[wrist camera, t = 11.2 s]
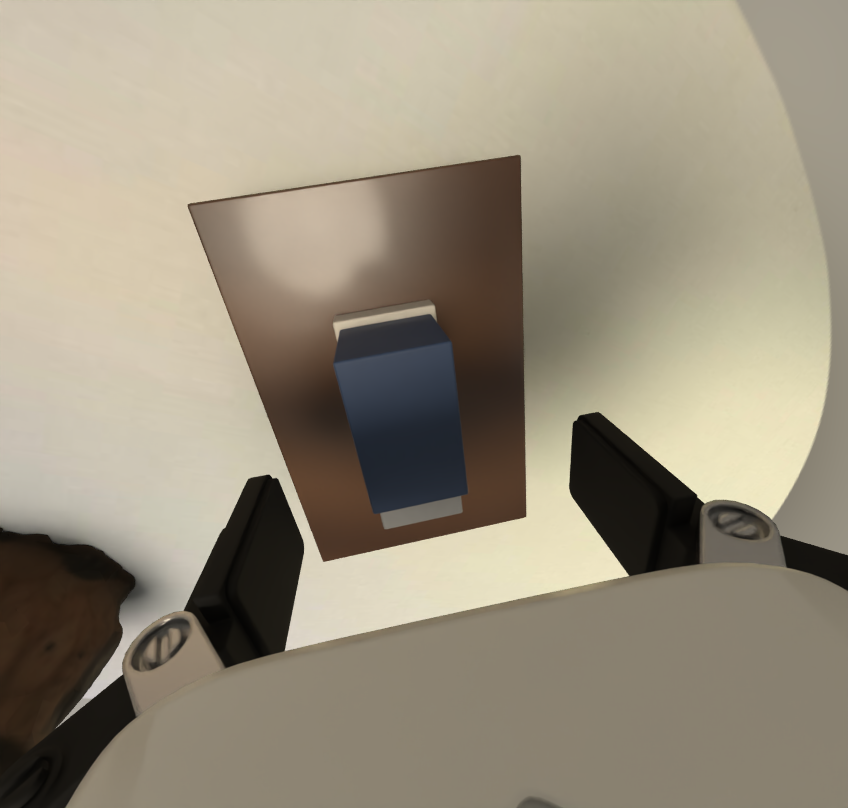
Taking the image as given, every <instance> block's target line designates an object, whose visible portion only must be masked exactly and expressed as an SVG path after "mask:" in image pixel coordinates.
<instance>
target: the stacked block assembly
mask: <svg viewBox="0 0 848 808" xmlns="http://www.w3.org/2000/svg"><path fill="white" fill-rule="evenodd" d="M333 327H334V331H335V335H336V339H337V347H336V352H335V357H334V362H333V366H334V370H335V374H336V378H337V381H338V385H339V389H340V392H341V396H342V400H343V404H344V407H345V411H346V415H347V418H348V422H349V426H350V429H351V433H352V437H353V441H354V444H355V448H356V452H357V455H358V459H359V463H360V467H361V470H362V474H363V478H364V481H365V485H366V489H367V493H368V496H369V500H370V504H371V507H372V511H373V513H374V514H379V513H380V516H381V520H382V523H383V527H384V529H390V528H395V527H399V526H404V525H408V524H413V523H417V522H422V521H427V520H431V519H436V518H440V517H445V516H450V515H454V514H459V513H462V511H463V508H462V500H461V496H463V495H467V494H468V485H467V476H466V467H465V457H464V448H463V439H462V430H461V421H460V411H459V402H458V393H457V384H456V375H455V365H454V356H453V347H452V342H451V340H450V339H449V338H448V336H447V335H446V334H445V332H444V331H443V330H442V328H441V327H440V326H439V324H438V323H437V318H436V310H435V305H434V304H433V303H432V302H431V301H430V300H423V301H417V302H412V303H406V304H400V305H394V306H389V307H383V308H377V309H372V310H366V311H360V312H354V313H349V314H343V315H337V316H335V317H334V321H333Z"/></svg>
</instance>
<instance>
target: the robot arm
mask: <svg viewBox="0 0 848 808" xmlns="http://www.w3.org/2000/svg"><path fill="white" fill-rule="evenodd" d="M569 489H570V493H571V495H572V497H573V499H574V500H575V502H576V503H577V504H578V506H579V507H580V509H581V510H582V511H583V513H584V514H585V515H586V517H587V518H588V520H589V521H590V522H591V524H592V525H593V526H594V528H595V529H596V531H597V532H598V533H599V535H600V536H601V537H602V539H603V540H604V542H605V543H606V544H607V546H608V547H609V548H610V550H611V551H612V553H613V554H614V555H615V557H616V558H617V559H618V561H619V562H620V564H621V565H622V566H623V568H624V569H625V570H626V572H627V573H628V575H629V576H628V577H623V578H618V579H613V580H608V581H603V582H598V583H594V584H589V585H584V586H579V587H575V588H570V589H565V590H560V591H556V592H551V593H546V594H541V595H536V596H532V597H527V598H522V599H518V600H513V601H508V602H504V603H499V604H494V605H490V606H485V607H480V608H476V609H471V610H467V611H462V612H457V613H453V614H448V615H443V616H439V617H434V618H430V619H425V620H420V621H416V622H411V623H407V624H402V625H398V626H393V627H389V628H384V629H380V630H375V631H371V632H366V633H362V634H357V635H353V636H348V637H344V638H339V639H335V640H330V641H326V642H322V643H318V644H314V645H309V646H305V647H301V648H297V649H293V650H288V651H285V646H286V641H287V636H288V631H289V626H290V621H291V615H292V610H293V605H294V600H295V595H296V590H297V585H298V580H299V575H300V570H301V565H302V560H303V555H304V542H303V539H302V537H301V534H300V532H299V529H298V527H297V524H296V522H295V519H294V517H293V514H292V512H291V509H290V507H289V505H288V502H287V500H286V497H285V495H284V492H283V490H282V487H281V485H280V482H279V480H278V479H277V478H273V479H272V477H271V476H270V475H264V476H259V477H253V478H250V479H248V481H247V483H246V485H245V487H244V489H243V491H242V493H241V495H240V498H239V500H238V502H237V504H236V506H235V508H234V510H233V513H232V515H231V517H230V519H229V521H228V523H227V525H226V528H224V529H223V530H222V532H221V533H220V535H219V537H218V539H217V541H216V543H215V546H214V548H213V550H212V552H211V554H210V556H209V558H208V560H207V562H206V565H205V567H204V569H203V571H202V573H201V575H200V577H199V579H198V581H197V584H196V586H195V588H194V590H193V592H192V594H191V596H190V598H189V600H188V603H187V605H186V607H185V609H184V611H179V612H173V613H171V614H168V615H165V616H163V617H161V618H160V619H158V620H156V621H155V622H153V623H152V624H151V625H149V626H148V627H147V628H146V629H144V630H143V631H142V632H141V633H140V634H139V635H138V637H137V638H136V639H135V640H134V641H133V642H132V644H131V645H130V647H129V648H128V650H127V652H126V654H125V657H124V659H123V662H122V671H123V675H122V676H120V677H119V678H118V679H117V680H115V681H114V682H113V683H112V684H110V685H109V686H108V687H107V688H106V689H104V690H103V691H102V692H101V693H99V694H98V695H97V696H96V697H94V698H93V699H92V700H91V701H90V702H88V703H87V704H86V705H85V706H83V707H82V708H81V709H80V710H78V711H77V712H76V713H75V714H74V715H72V716H71V717H70V718H69V719H67V720H66V721H65V722H64V723H62V724H61V725H60V726H59V727H57V728H56V729H55V730H54V731H53V732H51V733H50V734H49V735H48V736H46V737H45V738H44V739H43V740H41V741H40V742H39V743H38V744H37V745H35V746H34V747H33V748H32V749H30V750H29V751H28V752H27V753H25V754H24V755H23V756H22V757H21V758H19V759H18V760H17V761H16V762H15V763H14V764H13V765H12V766H11V767H10V768H8V769H7V770H6V771H5V772H4V773H3V774H2V776H1V777H0V808H848V555H845V554H841V553H838V552H834V551H831V550H827V549H824V548H820V547H818V546H814V545H811V544H807V543H804V542H800V541H797V540H793V539H790V538H787V537H783V536H780V534H779V530H778V528H777V526H776V524H775V523H774V522H773V521H772V520H771V519H770V518H769V517H768V516H767V515H765V514H764V513H762V512H761V511H759V510H757V509H755V508H753V507H751V506H749V505H746V504H743V503H739V502H736V501H730V500H713V501H710V502H707V503H706V504H704V503H703V502H702V501H701V500H700V499H699V498H697V494H695V493H694V492H693V491H692V490H691V489H689V488H688V487H687V486H686V485H685V484H684V483H682V482H681V481H680V480H679V479H678V478H676V477H675V476H674V475H673V474H672V473H671V472H669V471H668V470H667V469H666V468H665V467H663V466H662V465H661V464H660V463H659V462H658V461H656V460H655V459H654V458H653V457H652V456H650V455H649V454H648V453H647V452H646V451H645V450H643V449H642V448H641V447H640V446H639V445H637V444H636V443H635V442H634V441H633V440H632V439H630V438H629V437H628V436H627V435H626V434H624V433H623V432H622V431H621V430H620V429H618V428H617V427H616V426H615V425H614V424H613V423H611V422H610V421H609V420H608V419H607V418H605V417H604V416H603V415H602V414H601V413H599V412H595V413H590V414H584V415H580V416H579V417H578V419H577V421H574V423H573V430H572V448H571V465H570V483H569Z"/></svg>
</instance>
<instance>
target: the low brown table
mask: <svg viewBox="0 0 848 808" xmlns="http://www.w3.org/2000/svg"><path fill="white" fill-rule="evenodd" d="M188 209H189V211H190V214H191V216H192V219H193V222H194V224H195V227H196V229H197V232H198V235H199V237H200V240H201V243H202V245H203V248H204V250H205V253H206V256H207V258H208V261H209V264H210V266H211V269H212V271H213V274H214V277H215V279H216V282H217V285H218V287H219V290H220V292H221V295H222V298H223V300H224V303H225V305H226V308H227V311H228V313H229V316H230V319H231V321H232V324H233V326H234V329H235V332H236V334H237V337H238V340H239V342H240V345H241V347H242V350H243V353H244V355H245V358H246V361H247V363H248V366H249V368H250V371H251V374H252V376H253V379H254V381H255V384H256V387H257V389H258V392H259V395H260V397H261V400H262V402H263V405H264V408H265V410H266V413H267V416H268V418H269V421H270V423H271V426H272V429H273V431H274V434H275V437H276V439H277V442H278V444H279V447H280V450H281V452H282V455H283V457H284V460H285V463H286V465H287V468H288V471H289V473H290V476H291V478H292V481H293V484H294V486H295V489H296V492H297V494H298V497H299V499H300V502H301V505H302V507H303V510H304V513H305V515H306V518H307V520H308V523H309V526H310V528H311V531H312V533H313V536H314V539H315V541H316V544H317V547H318V549H319V552H320V554H321V557H322V560H323V562H325V561H330V560H334V559H339V558H344V557H348V556H353V555H357V554H362V553H366V552H371V551H375V550H380V549H384V548H389V547H393V546H398V545H402V544H407V543H411V542H416V541H420V540H425V539H429V538H434V537H439V536H443V535H448V534H452V533H457V532H461V531H466V530H470V529H475V528H479V527H484V526H488V525H493V524H497V523H502V522H506V521H511V520H515V519H520V518H524V517H526V467H525V404H524V341H523V278H522V215H521V157H520V155H515V156H508V157H501V158H494V159H488V160H481V161H474V162H467V163H461V164H454V165H447V166H440V167H434V168H427V169H420V170H413V171H407V172H400V173H393V174H386V175H379V176H373V177H366V178H359V179H352V180H346V181H339V182H332V183H325V184H319V185H312V186H305V187H298V188H292V189H285V190H278V191H271V192H265V193H258V194H251V195H244V196H238V197H231V198H224V199H217V200H210V201H204V202H197V203H190V204H188ZM423 300H430V301H431V302H432V303H433V304H434V305H435V310H436V318H437V323H438V324H439V326H440V327H441V328H442V330H443V331H444V332H445V334H446V335H447V336H448V338H449V339H450V340H451V342H452V347H453V356H454V365H455V375H456V384H457V393H458V402H459V411H460V421H461V430H462V439H463V448H464V457H465V467H466V476H467V485H468V494H467V495H463V496H461V500H462V508H463V511H462V513H459V514H454V515H450V516H445V517H440V518H436V519H431V520H427V521H422V522H417V523H413V524H408V525H404V526H399V527H395V528H390V529H384V527H383V523H382V520H381V516H380V513H379V514H374V513H373V511H372V507H371V504H370V500H369V496H368V493H367V489H366V485H365V481H364V478H363V474H362V470H361V467H360V463H359V459H358V455H357V452H356V448H355V444H354V441H353V437H352V433H351V429H350V426H349V422H348V418H347V415H346V411H345V407H344V404H343V400H342V396H341V392H340V389H339V385H338V381H337V378H336V374H335V370H334V366H333V362H334V357H335V352H336V347H337V339H336V335H335V331H334V327H333V321H334V317H335V316H337V315H343V314H349V313H354V312H360V311H366V310H372V309H377V308H383V307H389V306H394V305H400V304H406V303H412V302H417V301H423Z"/></svg>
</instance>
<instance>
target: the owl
mask: <svg viewBox="0 0 848 808" xmlns="http://www.w3.org/2000/svg"><path fill="white" fill-rule="evenodd" d="M2 531H3V529H2V528H0V777H1V776H2V774H3V773H4V772H5V771H6V770H7V769H8V768H10V767H11V766H12V765H13V764H14V763H15V762H16V761H17V760H18V759H19V758H21V757H22V756H23V755H24V754H25V753H27V752H28V751H29V750H30V749H32V748H33V747H34V746H35V745H37V744H38V743H39V742H40V741H41V740H43V739H44V738H45V737H46V736H48V735H49V734H50V733H51V732H53V731H54V730H55V728H56V727H57V726H58V725H59V724H60V723H61V722H62V721H63V720H64V719H65V717H66V716H67V715H68V714H69V713H70V712H71V710H72V709H73V708H74V707H75V706H76V705H77V703H78V702H79V701H80V700H81V699H82V697H83V696H84V695H85V693H86V692H87V690H88V689H89V688H90V687H91V686H92V684H93V682H94V681H95V680H96V678H97V677H98V676H99V675H100V673H101V671H102V669H103V668H104V667H105V666H106V664H107V663H108V661H109V660H110V658H111V657H112V655H113V654H114V652H115V650H116V649H117V647H118V646H119V643H120V641H121V638H122V634H123V630H122V626H121V624H120V623H119V611H120V605H121V604H122V603H123V602H124V600H125V599H126V598H127V596H128V594H129V593H130V592H131V591H132V590H133V589H134V587H135V579H134V577H133V576H132V575H131V574H129V573H128V572H126V571H125V570H123V569H122V566H120V565H119V564H118V563H115V562H114V561H113V560H112V559H110V558H109V557H107V556H106V555H105V554H104V553H103V551H100V550H97V549H95V548H93V547H92V546H88V545H58V544H54V543H52V541H51V540H50V538H49V537H48V536H47V535H41V534H31V535H22V534H17V533H13V532H2Z"/></svg>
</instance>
